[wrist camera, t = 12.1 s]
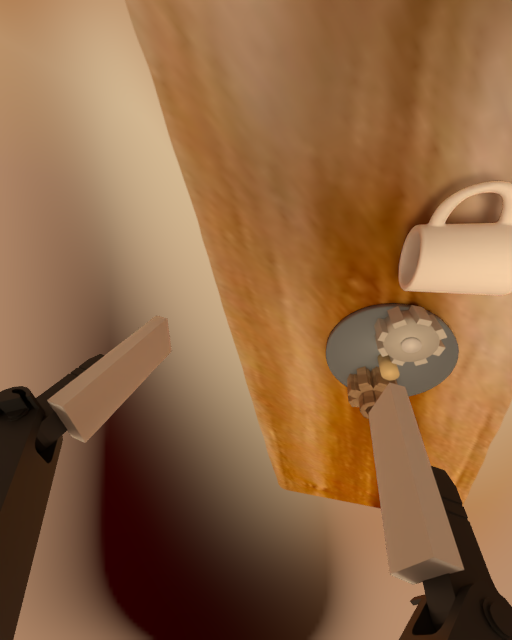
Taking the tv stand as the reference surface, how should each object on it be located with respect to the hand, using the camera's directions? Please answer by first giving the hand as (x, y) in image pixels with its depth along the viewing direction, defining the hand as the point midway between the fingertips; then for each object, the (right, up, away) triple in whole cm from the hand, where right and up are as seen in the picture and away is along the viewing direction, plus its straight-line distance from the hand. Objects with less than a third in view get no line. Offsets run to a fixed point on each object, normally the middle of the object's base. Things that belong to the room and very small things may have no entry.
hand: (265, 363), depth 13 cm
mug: (+25, +14, +16) cm, 32 cm away
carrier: (+23, -3, +27) cm, 35 cm away
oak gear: (+21, -9, +30) cm, 38 cm away
